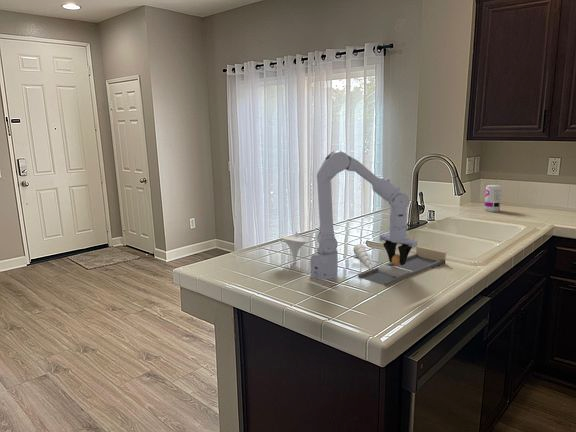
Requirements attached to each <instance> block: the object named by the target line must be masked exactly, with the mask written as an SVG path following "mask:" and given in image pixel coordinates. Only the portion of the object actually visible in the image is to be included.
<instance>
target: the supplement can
mask: <svg viewBox="0 0 576 432" xmlns="http://www.w3.org/2000/svg"><path fill="white" fill-rule="evenodd" d="M484 193H485V196H484V207H483V208H484V210H485V211H486V212H489V213H498V212H499V211H500V209H501V197H502V187H501V185H500V184H499V185H498V184H487V185H486V187H485V191H484Z"/></svg>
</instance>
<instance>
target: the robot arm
mask: <svg viewBox="0 0 576 432" xmlns="http://www.w3.org/2000/svg"><path fill="white" fill-rule="evenodd" d="M345 170H346V171H348V172H355V173H356V175H359V176H360V177H362V178H363V179H364V180H365V181H367V182H368V183H370V184H371V185H372V186H371V187H372V191H373V192H374V193H376V194H377V195H378V196H379V197H381V199H383V200H385V202H388V204H389V205H390V212H389V234H384V233H382V234H379V241H385V242H384V243H383V244H382V245H383V247H384V249H385V250H386V253H387V256H388V261H389V263H391V262H392V257H393V256H394V255H396V250H397V249H398V251H399V255H400V265H404V264H405V263H406V259H407V257H408V256H409V253H410V251H411V250H412V249H414V248H415V249H416V247H417V246H418V241H417V240H413V239H412V238H408V237H407V230H408V229H407V224H408V221H407V218H408V207H409V206H410V199H409V197H408V195H407V194H405V193H404V192H402V191H401V188H400V187H398V186H397V187H396V186H395V185H394V184H393V183H392V182H390V181H391V180H390V179H389V178H388V177H382V176H381V177H380V176H377V175H375V174H374V173H373V172H372V171H371V170H369V169H368V167H366V166H365V165H364V164H363V163H362V162H360V161H359V160H357V159H355V158H354V157H352V156H351V155H348V154H347V153H346V152H344V151H342V150H338V149H337V150H333V151H331V152H330V153H329V154H328V155H326V157H325V158H324V161H323V162H322V164H321V166H320V167H319V168H318V171H317V173H316V174H317V175H316V183H317V199H318V200H317V201H318V216H319V219H318V220H319V227H318V228H319V232H318V235H317V238H316V239H317V243H318V247H317V249H316V252H315V254H313V255H311V256H310V274H308V275H309V276H311V277H314V278H317V279H320V280H322V281H326V280H330V279H333V278H335V277H338V276H341V275H343V272H340V271H339V270H338V268H339V266H338V265H339V263H338V253H339V252H338V244H339V243H338V240H337V239H336V237H335V230H334V229H335V228H334V218H333V200H332V182H331V181H332V180H333V179H334V177H336V176H337V175H338V174H339V173H341V172H343V171H345ZM397 245H399V246H398V247H397Z"/></svg>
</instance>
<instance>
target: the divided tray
mask: <svg viewBox="0 0 576 432" xmlns="http://www.w3.org/2000/svg"><path fill="white" fill-rule="evenodd" d="M415 249H416V251H415V253H414V254H413V253H412V254H411V255H408V256H407V259H406V263H405V264H404V265H399V266H396V265H394V264H393V263H392V262H389V263H386V264H383V263H382V264H381V265H379V266H378V267H375V268H373V269H372V270H370V269H369V270H366V271H363V272H361V273H357V274H358V278H360V279H363V280H365V281H366V280H367V281H370V282H373V283H376V284H379V285H383V286H385V287H386V286H390V285H393V284H395V283H397V282H400V281H401V280H402V281H403V280H404V279H407V278H410V277H412V276H414V275H418V274H419V273H422V272H424V271H427V270H430V269H435V268H437V267H440V266H442V265H445V264H446V257H447V256H446V255H447V252H446V251H443V250H437V249H433V248H429V247H423V246H419V245H417V247H415Z"/></svg>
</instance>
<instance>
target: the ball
mask: <svg viewBox="0 0 576 432" xmlns="http://www.w3.org/2000/svg"><path fill="white" fill-rule="evenodd" d="M392 263H393V264H394V265H396V266H399V265H400V253H399V254H398V253H395V255H394V256H393V257H392Z"/></svg>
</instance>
